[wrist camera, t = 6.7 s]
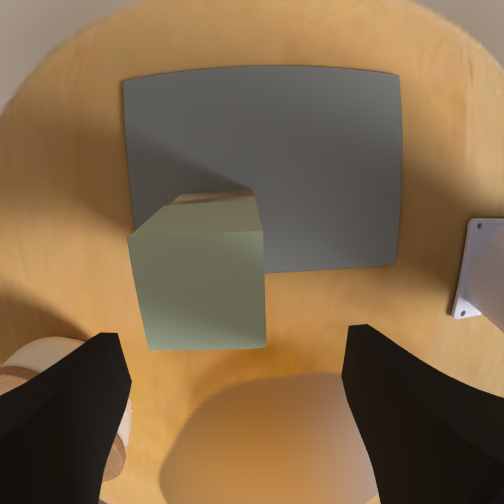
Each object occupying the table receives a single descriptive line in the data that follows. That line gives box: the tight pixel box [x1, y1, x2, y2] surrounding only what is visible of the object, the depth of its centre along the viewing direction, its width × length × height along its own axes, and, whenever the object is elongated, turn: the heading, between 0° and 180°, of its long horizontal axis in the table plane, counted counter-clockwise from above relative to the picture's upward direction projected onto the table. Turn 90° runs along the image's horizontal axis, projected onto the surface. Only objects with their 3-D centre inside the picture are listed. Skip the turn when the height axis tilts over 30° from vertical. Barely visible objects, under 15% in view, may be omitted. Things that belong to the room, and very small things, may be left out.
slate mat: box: [123, 66, 402, 273], centre depth 18 cm, size 16×12×1 cm
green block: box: [127, 200, 266, 350], centre depth 12 cm, size 4×4×5 cm
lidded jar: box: [0, 337, 132, 482], centre depth 18 cm, size 11×11×9 cm
